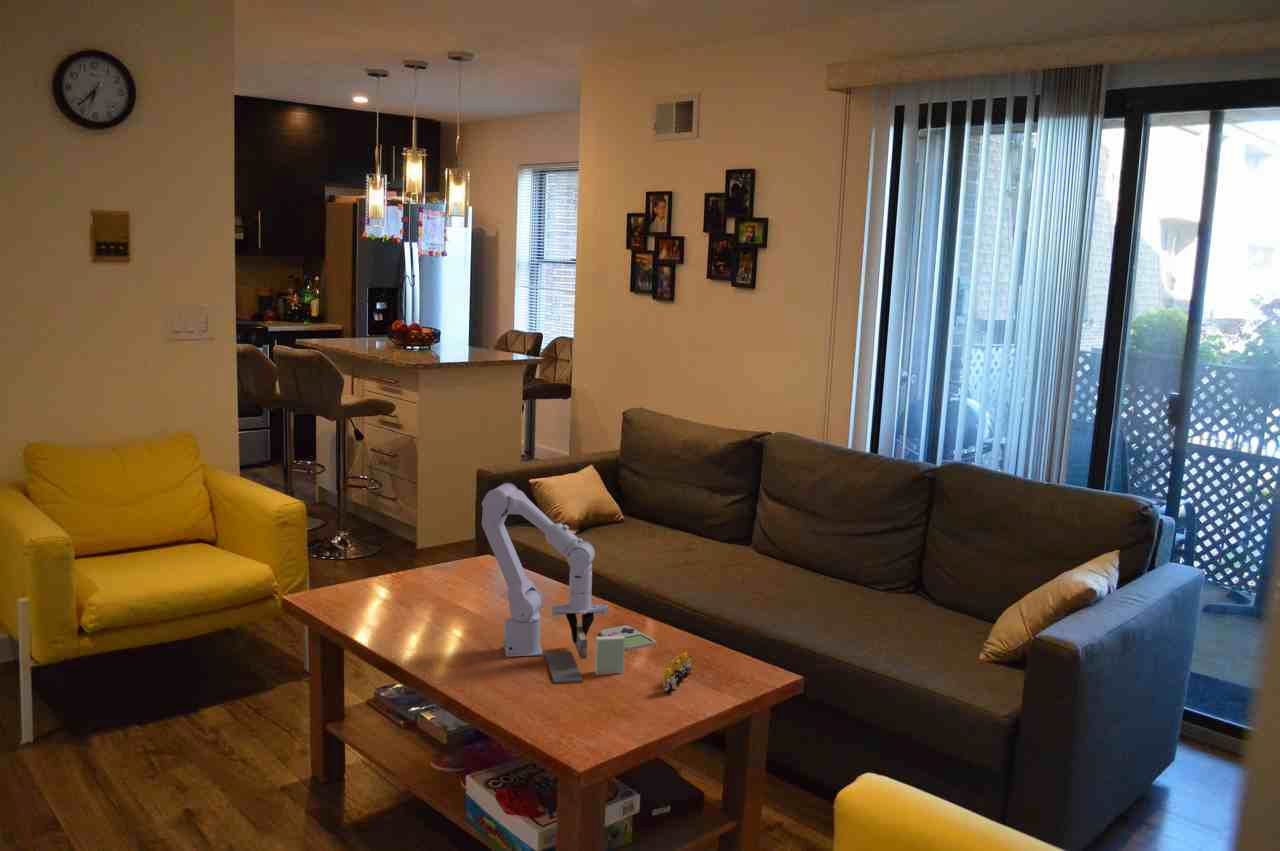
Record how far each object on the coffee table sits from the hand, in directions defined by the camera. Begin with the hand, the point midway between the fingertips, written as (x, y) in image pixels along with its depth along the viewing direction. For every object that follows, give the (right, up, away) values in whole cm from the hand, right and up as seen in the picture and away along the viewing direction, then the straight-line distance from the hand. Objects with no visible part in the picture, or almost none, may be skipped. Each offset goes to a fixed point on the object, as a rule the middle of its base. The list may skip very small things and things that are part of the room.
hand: (578, 641), depth 268 cm
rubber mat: (-4, -5, -7) cm, 10 cm away
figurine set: (+25, -8, -15) cm, 30 cm away
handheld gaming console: (+12, -3, +15) cm, 20 cm away
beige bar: (0, -2, 0) cm, 2 cm away
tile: (+8, -6, -9) cm, 13 cm away
